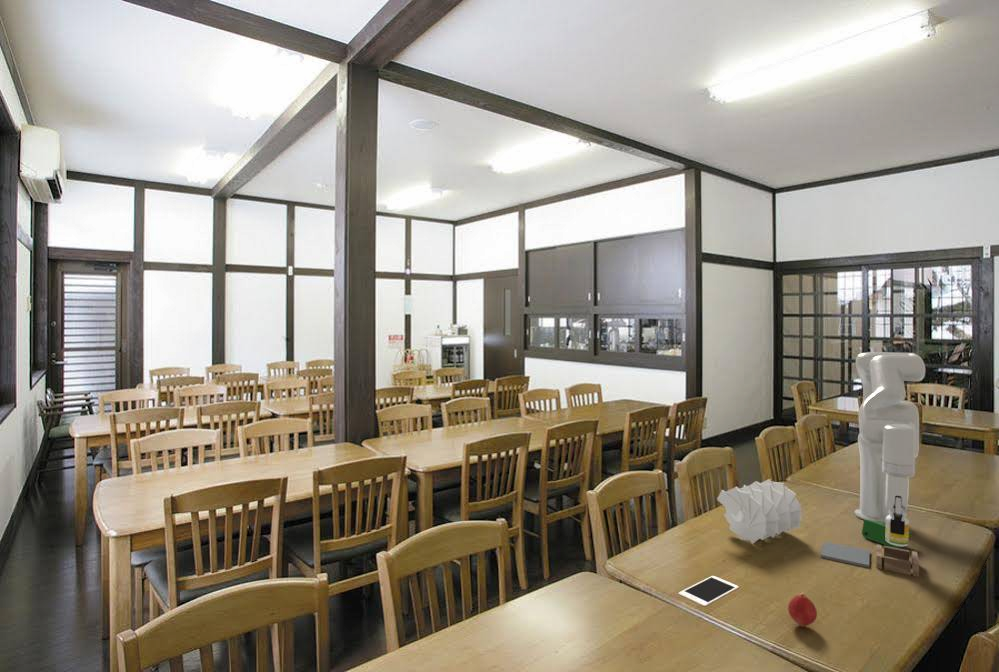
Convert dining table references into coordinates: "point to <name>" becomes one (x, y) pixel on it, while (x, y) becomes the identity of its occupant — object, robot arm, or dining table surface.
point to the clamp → (876, 532)
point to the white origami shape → (761, 510)
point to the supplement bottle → (896, 538)
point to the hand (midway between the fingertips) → (897, 529)
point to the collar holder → (897, 560)
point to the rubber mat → (845, 554)
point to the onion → (802, 610)
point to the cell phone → (708, 590)
